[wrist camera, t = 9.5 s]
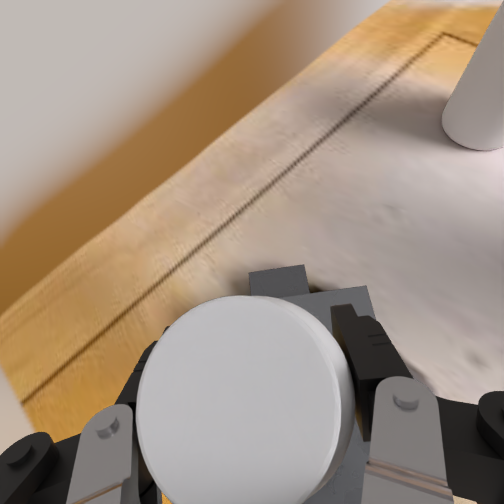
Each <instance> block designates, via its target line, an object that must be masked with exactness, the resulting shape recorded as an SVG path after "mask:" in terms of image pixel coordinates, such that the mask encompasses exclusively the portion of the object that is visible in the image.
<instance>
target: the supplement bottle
mask: <svg viewBox="0 0 504 504" xmlns="http://www.w3.org/2000/svg"><path fill="white" fill-rule="evenodd" d="M355 409H356V404H355V390H354V384H353V379H352V375H351V372H350V368H349V365H348V363H347V360H346V358H345V356H344V354H343V352H342V350H341V348H340V346H339V345H338V343H337V342H336V340H335V339H334V337H333V336H332V335H331V334H330V332H329V331H328V330H327V328H326V327H325V326H324V325H323V324H322V323H321V322H320V321H319V320H318V319H316V318H315V317H314V316H313V315H311V314H310V313H309V312H307V311H306V310H304V309H302V308H301V307H299V306H297V305H295V304H292V303H290V302H287V301H285V300H282V299H278V298H274V297H268V296H243V295H239V296H225V297H220V298H216V299H213V300H210V301H207V302H205V303H202V304H200V305H198V306H196V307H194V308H192V309H191V310H189V311H188V312H186V313H185V314H183V315H182V316H181V317H179V318H178V319H177V320H176V321H175V322H174V323H173V324H172V325H171V326H170V327H169V328H168V329H167V330H166V331H165V332H164V334H163V335H162V336H161V338H160V339H159V340H158V342H157V343H156V345H155V346H154V348H153V350H152V352H151V354H150V355H149V358H148V360H147V362H146V364H145V367H144V370H143V373H142V376H141V379H140V383H139V388H138V393H137V404H136V426H137V434H138V440H139V445H140V448H141V452H142V455H143V458H144V461H145V463H146V466H147V468H148V470H149V472H150V474H151V476H152V477H153V479H154V481H155V483H156V484H157V486H158V487H159V489H160V490H161V491H162V493H163V494H164V495H165V496H166V497H167V498H168V499H169V500H170V501H171V503H173V504H303V503H304V502H305V501H306V500H307V499H308V498H310V497H311V496H312V495H313V494H315V493H316V492H317V491H319V490H320V489H321V488H322V487H323V486H324V485H325V484H326V483H327V482H328V480H329V479H330V478H331V477H332V475H333V474H334V473H335V471H336V470H337V468H338V467H339V465H340V464H341V462H342V460H343V458H344V456H345V453H346V451H347V449H348V446H349V443H350V441H351V436H352V432H353V428H354V423H355Z"/></svg>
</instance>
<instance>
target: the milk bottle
mask: <svg viewBox="0 0 504 504" xmlns="http://www.w3.org/2000/svg"><path fill="white" fill-rule="evenodd" d="M442 127H443V129H444V131H445V133H446V134H447V136H449V137H450V138H451V139H452V140H453V141H455V142H456V143H458V144H460V145H462V146H464V147H467V148H471V149H476V150H494V149H498V148H502V147H504V1H503V2H502V4H501V6H500V8H499V9H498V11H497V13H496V14H495V16H494V18H493V20H492V21H491V23H490V25H489V27H488V29H487V30H486V32H485V34H484V36H483V38H482V40H481V41H480V43H479V45H478V47H477V49H476V50H475V52H474V54H473V56H472V58H471V60H470V62H469V63H468V65H467V67H466V69H465V71H464V73H463V74H462V76H461V78H460V80H459V82H458V84H457V86H456V87H455V89H454V91H453V93H452V95H451V97H450V99H449V101H448V102H447V104H446V107H445V109H444V111H443V113H442Z"/></svg>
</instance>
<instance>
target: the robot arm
mask: <svg viewBox="0 0 504 504" xmlns="http://www.w3.org/2000/svg"><path fill="white" fill-rule="evenodd" d="M330 312H331V323H332V333H333V337H334V339H335V340H336V342H337V343H338V345H339V346H340V348H341V350H342V352H343V354H344V356H345V358H346V360H347V363H348V365H349V368H350V372H351V375H352V379H353V384H354V390H355V404H356V409H355V417H356V420H357V424H358V427H359V430H360V433H361V436H362V439H363V442H369V441H371V444H370V454H369V461H368V462H367V463H366V467H365V473H364V482H363V491H362V500H361V504H454V500H453V495H454V496H458V497H461V498H465V499H468V500H472V501H476V502H477V504H504V391H494V392H489V393H486V394H484V395H483V396H482V397H481V398H480V400H479V403H478V405H475V404H469V403H463V402H457V401H451V400H447V399H443V398H440V397H438V396H435V395H434V394H433V392H432V391H431V390H430V389H429V388H428V387H427V386H425V385H424V384H422V383H421V382H419V381H417V380H414V378H413V377H412V375H411V374H410V372H409V370H408V369H407V367H406V365H405V364H404V362H403V360H402V359H401V357H400V355H399V354H398V352H397V350H396V349H395V347H394V345H393V344H392V343H391V340H390V339H389V337H388V335H386V332H385V330H384V329H383V327H382V326H381V324H380V323H379V322H378V321H376V320H375V319H373V318H372V317H371V316H369V315H366V316H357V314H356V312H355V310H354V308H353V306H352V304H351V303H349V304H341V305H333V306H330ZM169 327H170V326H167V327H166V328H165V330H164V332H165V331H166V330H167V329H168V328H169ZM164 332H163V334H164ZM163 334H162V335H163ZM157 342H158V341H154V342H153V343H152V344H151V345H150V346H149V347H148V348H147V349H146V350H145V351H144V352H143V354H142V356H141V358H140V359H139V361H138V364H137V365H136V367H135V368H134V370H133V373H132V374H131V375H130V377H129V379H128V381H127V383H126V384H125V386H124V388H123V390H122V392H121V393H120V395H119V397H118V399H117V401H116V402H115V404H114V405H112V406H109V407H107V408H105V409H103V410H102V411H100V412H99V413H97V414H96V415H95V416H93V417H92V418H91V419H90V420H89V422H88V423H87V424H86V425H85V427H84V428H83V430H82V433H80V434H78V435H75V436H72V437H70V438H67V439H64V440H62V441H59V442H56V443H54V442H53V440H52V439H51V437H50V435H49V434H47V433H45V432H37V433H33V434H30V435H28V436H26V437H24V438H22V439H21V440H18V441H17V442H15V443H14V444H13V445H11V446H10V447H9V448H8V449H6V450H5V451H4V452H3V453H2V454H1V455H0V504H162V494H161V490H160V489H159V487H158V486H157V484H156V483H155V481H154V479H153V477H152V476H151V474H150V472H149V470H148V468H147V466H146V463H145V461H144V458H143V455H142V452H141V448H140V445H139V440H138V434H137V426H136V404H137V393H138V388H139V383H140V379H141V376H142V373H143V370H144V367H145V364H146V362H147V360H148V358H149V355H150V354H151V352H152V350H153V348H154V346H155V345H156V343H157Z"/></svg>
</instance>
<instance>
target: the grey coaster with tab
mask: <svg viewBox="0 0 504 504" xmlns="http://www.w3.org/2000/svg"><path fill="white" fill-rule="evenodd" d="M249 280H250V289H251V296H268V297H274V298H278V299H282V300H285V301H287V302H290V303H292V304H295V305H297V306H299V307H301V308H302V309H304V310H306V311H307V312H309V313H310V314H311V315H313V316H314V317H315V318H316V319H318V320H319V321H320V322H321V323H322V324H323V325H324V326H325V327H326V328H327V330H328V331H329V332H330V334H331V335H332V336H333V333H332V323H331V312H330V306H333V305H341V304H349V303H351V304H352V306H353V308H354V310H355V312H356V314H357V316H366V315H369V316H371V317H372V318H373V319H375V320H376V318H375V315H374V311H373V308H372V304H371V301H370V297H369V293H368V290H367V286H360V287H353V288H346V289H339V290H332V291H325V292H318V293H311V294H310V292H309V287H308V282H307V277H306V271H305V266H304V264H303V265H297V266H290V267H284V268H277V269H270V270H264V271H257V272H251V273H249ZM370 444H371V441H369V442H363V439H362V436H361V433H360V430H359V427H358V424H357V420H356V417H355V423H354V428H353V432H352V436H351V441H350V443H349V446H348V449H347V451H346V453H345V456H344V458H343V460H342V462H341V464H340V465H339V467H338V468H337V470H336V471H335V473H334V474H333V475H332V477H331V478H330V479H329V480H328V482H327V483H326V484H325V485H324V486H323V487H322V488H321V489H320V490H319V491H317V492H316V493H315V494H313V495H312V496H311V497H310V498H308V499H307V500H306V501H305V502H304V503H303V504H361V500H362V491H363V482H364V473H365V467H366V463H367V462H368V461H369V454H370Z"/></svg>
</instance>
